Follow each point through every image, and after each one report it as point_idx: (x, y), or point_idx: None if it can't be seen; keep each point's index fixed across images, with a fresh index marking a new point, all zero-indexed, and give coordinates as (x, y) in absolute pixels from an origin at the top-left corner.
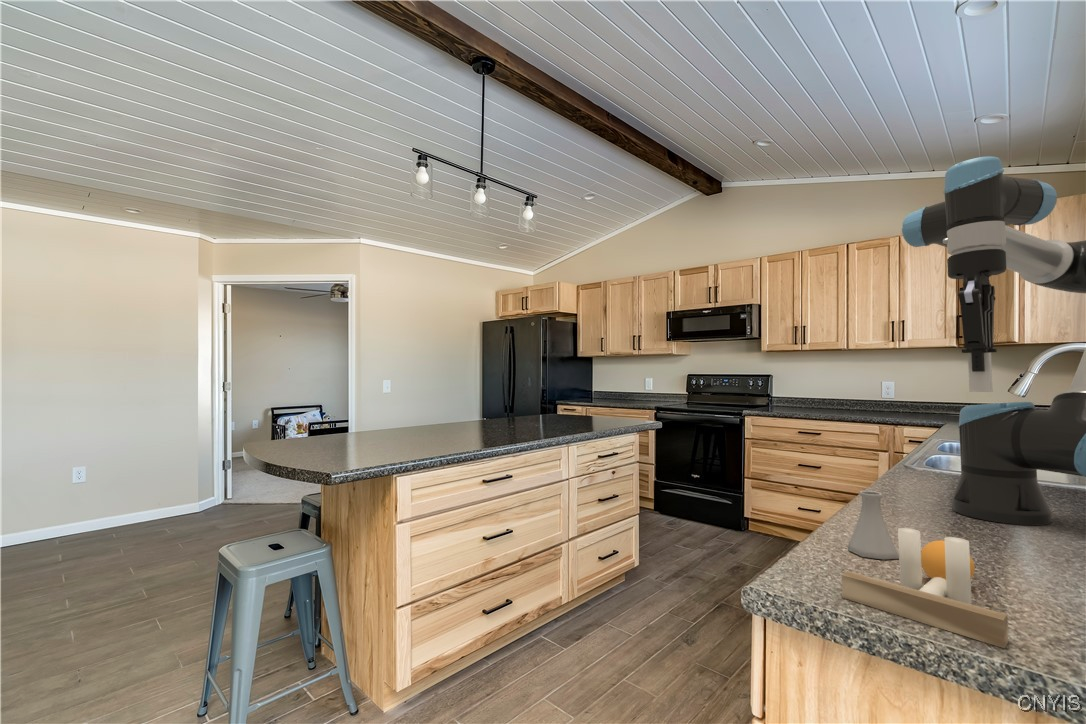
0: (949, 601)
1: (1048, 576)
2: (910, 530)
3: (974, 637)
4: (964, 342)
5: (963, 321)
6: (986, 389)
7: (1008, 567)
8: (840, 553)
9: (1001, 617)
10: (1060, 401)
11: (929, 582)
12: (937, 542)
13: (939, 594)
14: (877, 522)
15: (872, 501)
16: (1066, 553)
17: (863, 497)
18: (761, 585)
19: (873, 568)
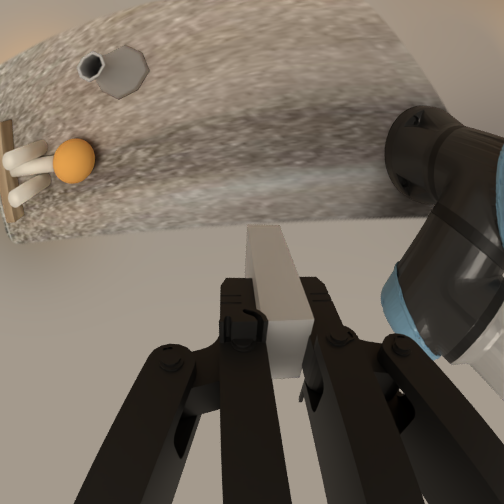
0: (5, 193)
1: (183, 209)
2: (9, 162)
3: None
4: (140, 372)
5: (82, 498)
6: (245, 269)
7: (183, 179)
8: None
9: (9, 220)
10: (482, 305)
11: (36, 163)
12: (59, 160)
13: (29, 174)
14: (96, 80)
15: (85, 73)
16: (289, 214)
17: (85, 61)
18: None
19: (74, 97)
